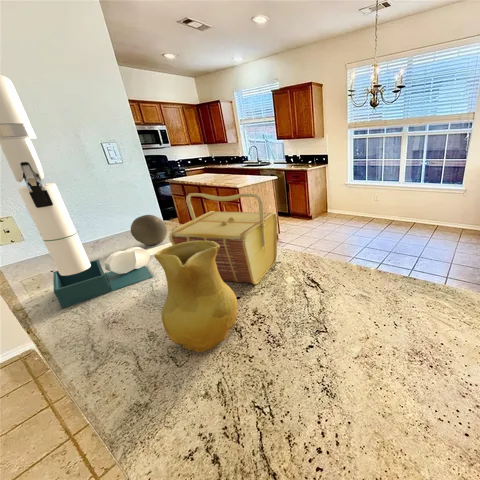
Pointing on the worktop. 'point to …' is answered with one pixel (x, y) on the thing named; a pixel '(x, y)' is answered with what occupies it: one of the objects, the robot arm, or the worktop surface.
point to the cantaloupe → (149, 230)
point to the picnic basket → (234, 238)
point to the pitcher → (196, 296)
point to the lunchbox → (93, 283)
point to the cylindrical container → (57, 232)
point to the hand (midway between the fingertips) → (45, 203)
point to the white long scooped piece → (130, 259)
